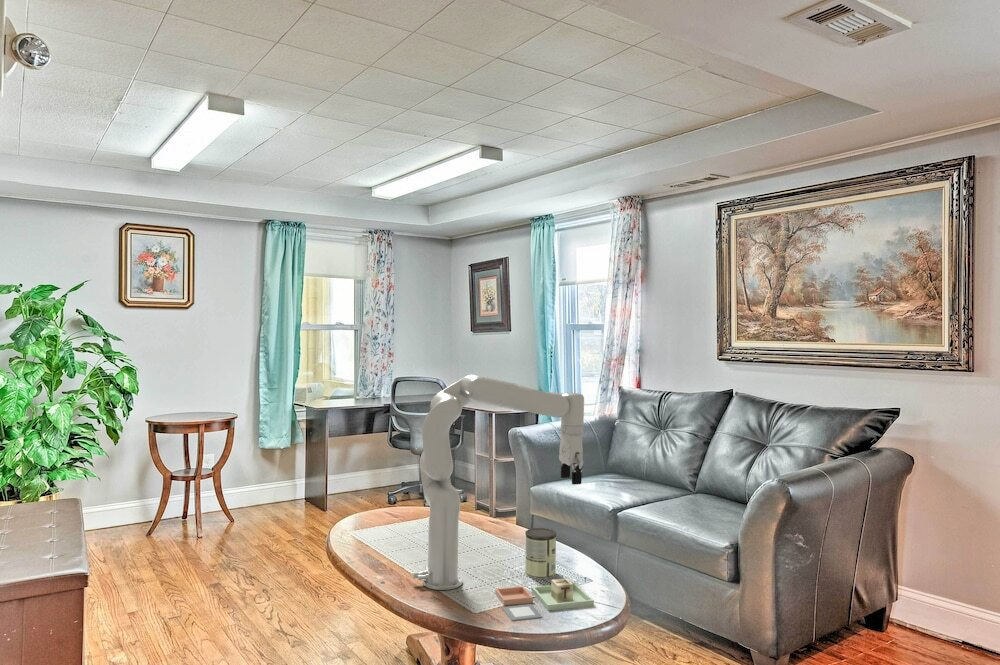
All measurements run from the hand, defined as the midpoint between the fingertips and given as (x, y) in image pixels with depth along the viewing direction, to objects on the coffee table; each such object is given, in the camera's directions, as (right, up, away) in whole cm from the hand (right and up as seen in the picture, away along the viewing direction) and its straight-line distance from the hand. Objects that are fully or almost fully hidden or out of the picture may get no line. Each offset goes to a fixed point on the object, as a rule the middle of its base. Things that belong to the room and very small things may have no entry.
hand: (570, 480), depth 234 cm
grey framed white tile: (-18, -31, -35) cm, 50 cm away
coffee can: (-10, -31, -3) cm, 33 cm away
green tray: (-5, -31, -24) cm, 39 cm away
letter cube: (-5, -30, -24) cm, 39 cm away
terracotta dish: (-20, -31, -24) cm, 44 cm away
